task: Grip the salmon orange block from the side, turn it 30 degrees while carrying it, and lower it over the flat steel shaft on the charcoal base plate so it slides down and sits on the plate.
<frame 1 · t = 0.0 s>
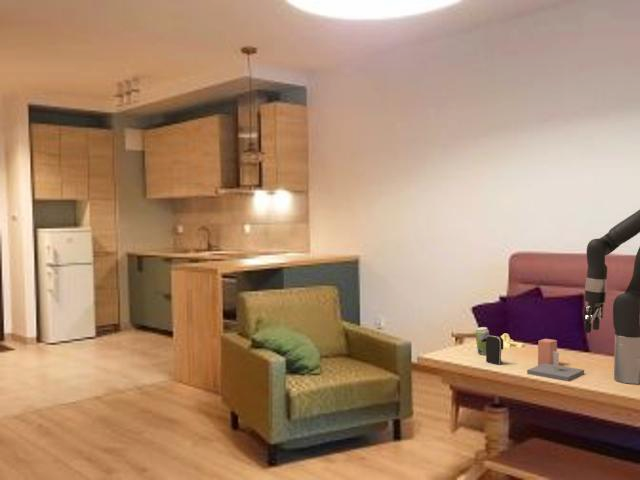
hand: (591, 331, 242), 17 cm above the table, tool pointing down, fingers open, 8 cm apart
beverage can: (483, 354, 279), on the table
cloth: (502, 346, 301), on the table
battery: (494, 363, 262), on the table
salmon orange block: (547, 364, 260), on the table
keyed shaft: (555, 361, 244), on the base plate, point 5 cm above the table
base plate: (555, 373, 244), on the table
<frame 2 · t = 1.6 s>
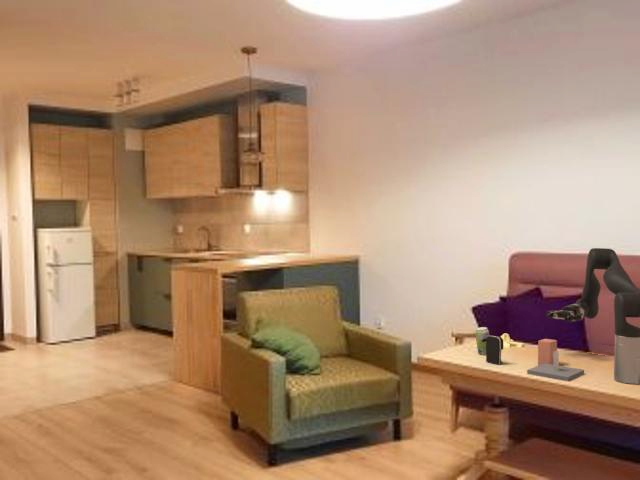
hand: (558, 317, 267), 18 cm above the table, tool horizontal, fingers open, 8 cm apart
nothing on the table moved.
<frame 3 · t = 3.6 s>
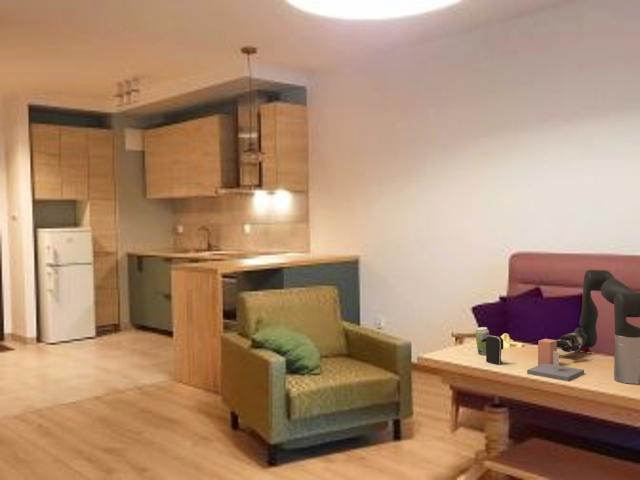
hand: (555, 347, 265), 6 cm above the table, tool horizontal, fingers open, 8 cm apart
nothing on the table moved.
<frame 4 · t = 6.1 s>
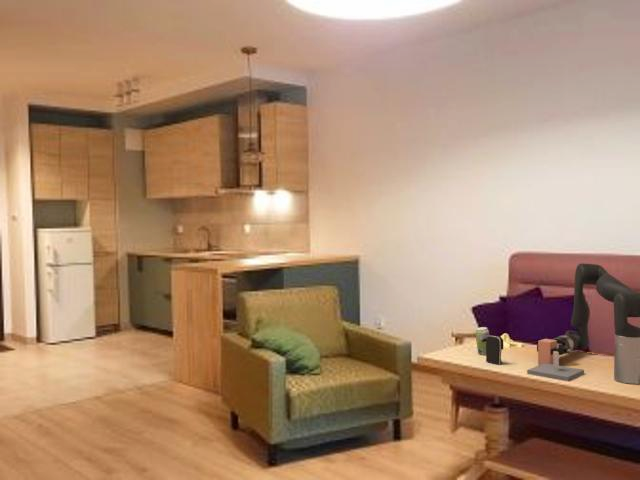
hand: (544, 351, 258), 6 cm above the table, tool horizontal, fingers closed on salmon orange block, 5 cm apart
salmon orange block: (547, 364, 260), on the table, touching gripper
everything else where it was.
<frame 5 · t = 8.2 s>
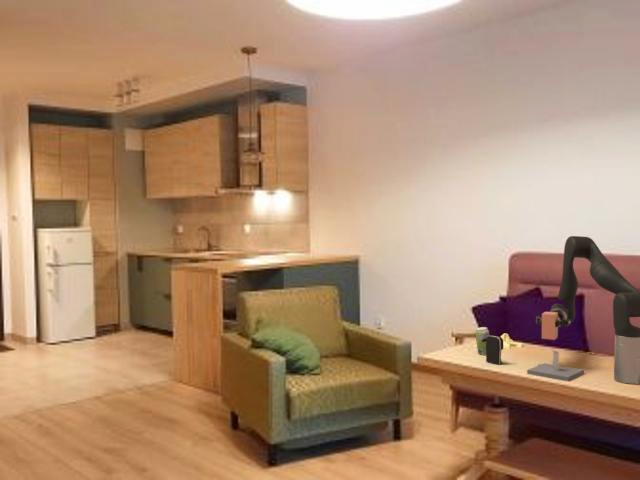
hand: (548, 324, 250), 19 cm above the table, tool horizontal, fingers closed on salmon orange block, 5 cm apart
salmon orange block: (549, 337, 252), point 13 cm above the table, touching gripper
everything else where it was.
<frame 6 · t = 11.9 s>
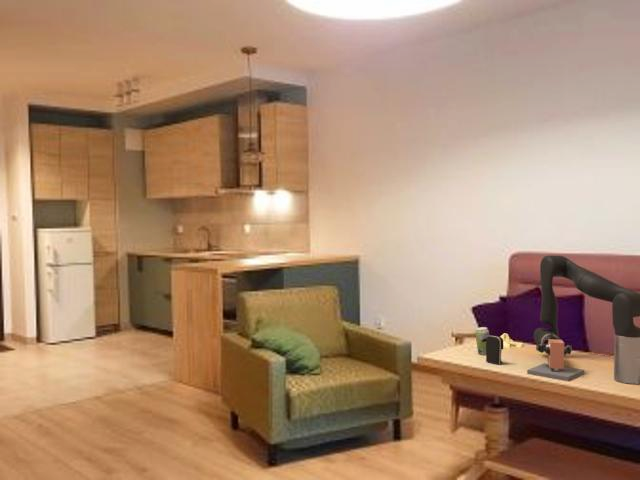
hand: (556, 352, 241), 9 cm above the table, tool horizontal, fingers closed on salmon orange block, 5 cm apart
salmon orange block: (555, 366, 244), point 3 cm above the table, touching gripper
everything else where it was.
when the fingers open (9 cm above the table, at t = 12.0 s): salmon orange block drops 1 cm, resting on base plate.
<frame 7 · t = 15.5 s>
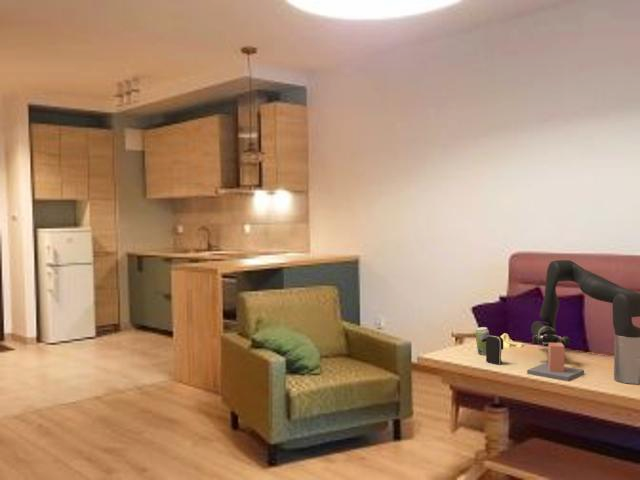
hand: (552, 342, 255), 10 cm above the table, tool horizontal, fingers open, 8 cm apart
salmon orange block: (555, 369, 244), point 1 cm above the table, touching base plate
everything else where it was.
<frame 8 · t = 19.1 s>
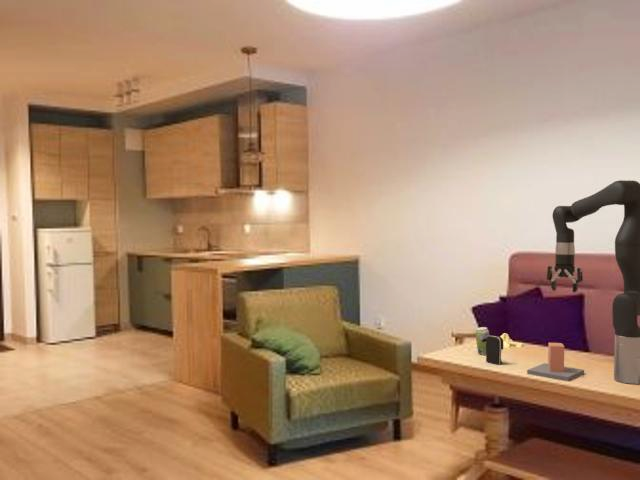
hand: (564, 291, 263), 30 cm above the table, tool pointing down, fingers open, 8 cm apart
nothing on the table moved.
at the end: salmon orange block 0.0 cm off-centre on the base plate, point 1.5 cm above the base plate's base; salmon orange block tilted 0°; the gripper is holding nothing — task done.
